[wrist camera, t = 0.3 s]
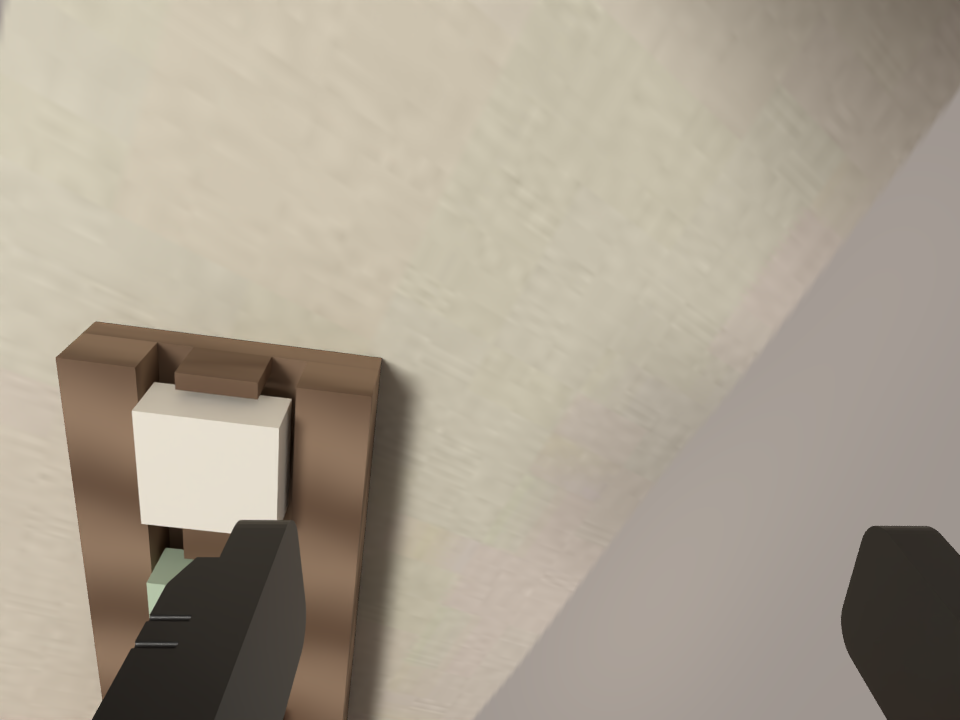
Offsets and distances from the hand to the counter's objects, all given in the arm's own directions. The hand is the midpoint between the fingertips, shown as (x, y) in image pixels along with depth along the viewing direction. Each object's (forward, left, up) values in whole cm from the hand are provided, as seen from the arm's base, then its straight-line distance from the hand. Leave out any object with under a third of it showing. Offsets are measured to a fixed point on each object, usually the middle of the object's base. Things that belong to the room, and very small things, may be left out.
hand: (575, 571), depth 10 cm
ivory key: (+10, -10, -16) cm, 21 cm away
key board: (+18, -10, -18) cm, 27 cm away
